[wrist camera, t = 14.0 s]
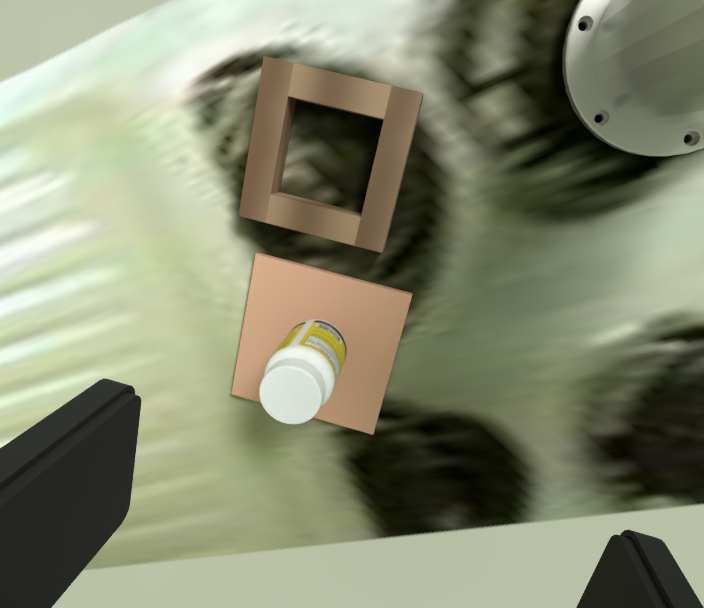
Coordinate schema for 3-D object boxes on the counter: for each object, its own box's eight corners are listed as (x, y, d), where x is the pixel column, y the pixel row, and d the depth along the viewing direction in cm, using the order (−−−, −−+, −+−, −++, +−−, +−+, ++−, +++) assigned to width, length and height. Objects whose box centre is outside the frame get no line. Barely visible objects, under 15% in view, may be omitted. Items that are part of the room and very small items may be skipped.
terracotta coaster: (412, 293, 37) (412, 295, 37) (373, 430, 41) (373, 434, 41) (258, 252, 38) (255, 254, 38) (233, 391, 42) (231, 394, 41)
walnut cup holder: (423, 96, 34) (422, 93, 32) (385, 247, 37) (382, 253, 35) (273, 61, 34) (263, 55, 32) (249, 212, 38) (238, 215, 36)
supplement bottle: (292, 376, 40) (258, 431, 32) (283, 319, 39) (245, 362, 31) (351, 373, 39) (331, 429, 31) (344, 315, 38) (321, 358, 30)
